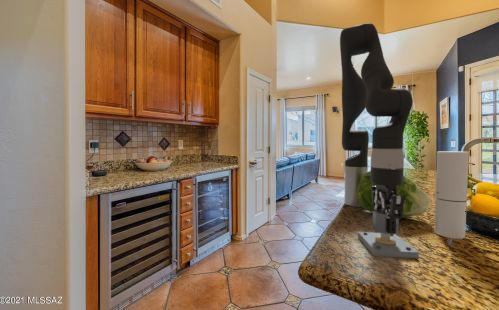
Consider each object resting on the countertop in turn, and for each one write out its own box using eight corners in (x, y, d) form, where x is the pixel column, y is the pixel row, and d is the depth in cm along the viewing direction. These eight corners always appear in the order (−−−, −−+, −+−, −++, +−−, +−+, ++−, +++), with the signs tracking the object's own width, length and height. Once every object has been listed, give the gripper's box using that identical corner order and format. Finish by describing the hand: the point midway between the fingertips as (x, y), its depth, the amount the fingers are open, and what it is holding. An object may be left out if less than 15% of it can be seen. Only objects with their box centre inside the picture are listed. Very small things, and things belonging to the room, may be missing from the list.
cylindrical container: (456, 231, 75) (459, 151, 73) (471, 240, 68) (474, 152, 67) (430, 228, 77) (432, 151, 75) (441, 237, 70) (444, 152, 69)
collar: (370, 226, 67) (370, 208, 67) (391, 226, 66) (391, 209, 66) (378, 233, 61) (378, 214, 61) (401, 234, 61) (402, 215, 61)
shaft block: (358, 237, 71) (358, 208, 70) (394, 238, 69) (394, 209, 69) (374, 256, 59) (375, 222, 58) (418, 258, 58) (419, 223, 57)
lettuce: (426, 231, 76) (438, 178, 76) (349, 208, 89) (359, 163, 89) (422, 226, 90) (432, 181, 90) (356, 207, 103) (365, 168, 103)
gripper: (362, 163, 71) (361, 219, 71) (383, 168, 56) (381, 238, 57) (389, 163, 70) (387, 220, 71) (417, 168, 55) (415, 240, 56)
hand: (385, 228), depth 64 cm, fingers closed on collar, 5 cm apart
